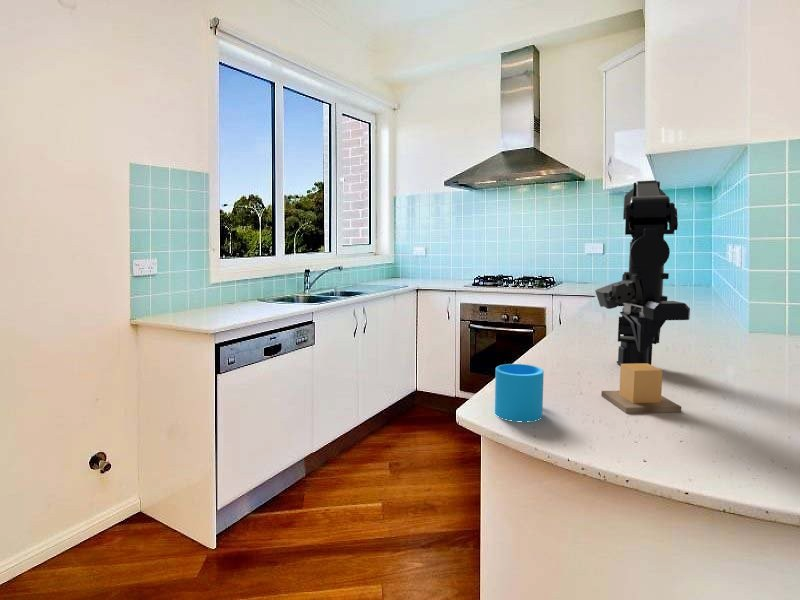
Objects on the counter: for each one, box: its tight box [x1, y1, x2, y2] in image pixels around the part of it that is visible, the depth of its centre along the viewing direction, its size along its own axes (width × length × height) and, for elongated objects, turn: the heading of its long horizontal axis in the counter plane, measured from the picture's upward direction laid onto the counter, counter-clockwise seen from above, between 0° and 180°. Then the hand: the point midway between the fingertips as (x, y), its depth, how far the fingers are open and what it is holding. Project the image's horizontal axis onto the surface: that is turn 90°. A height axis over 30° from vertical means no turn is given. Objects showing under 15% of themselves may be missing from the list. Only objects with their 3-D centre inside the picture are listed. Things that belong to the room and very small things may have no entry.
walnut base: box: [600, 390, 682, 414], centre depth 94 cm, size 10×10×1 cm
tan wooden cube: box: [618, 363, 664, 403], centre depth 94 cm, size 5×5×6 cm
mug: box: [494, 363, 545, 422], centre depth 90 cm, size 12×8×8 cm
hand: (641, 351), depth 93 cm, fingers closed
